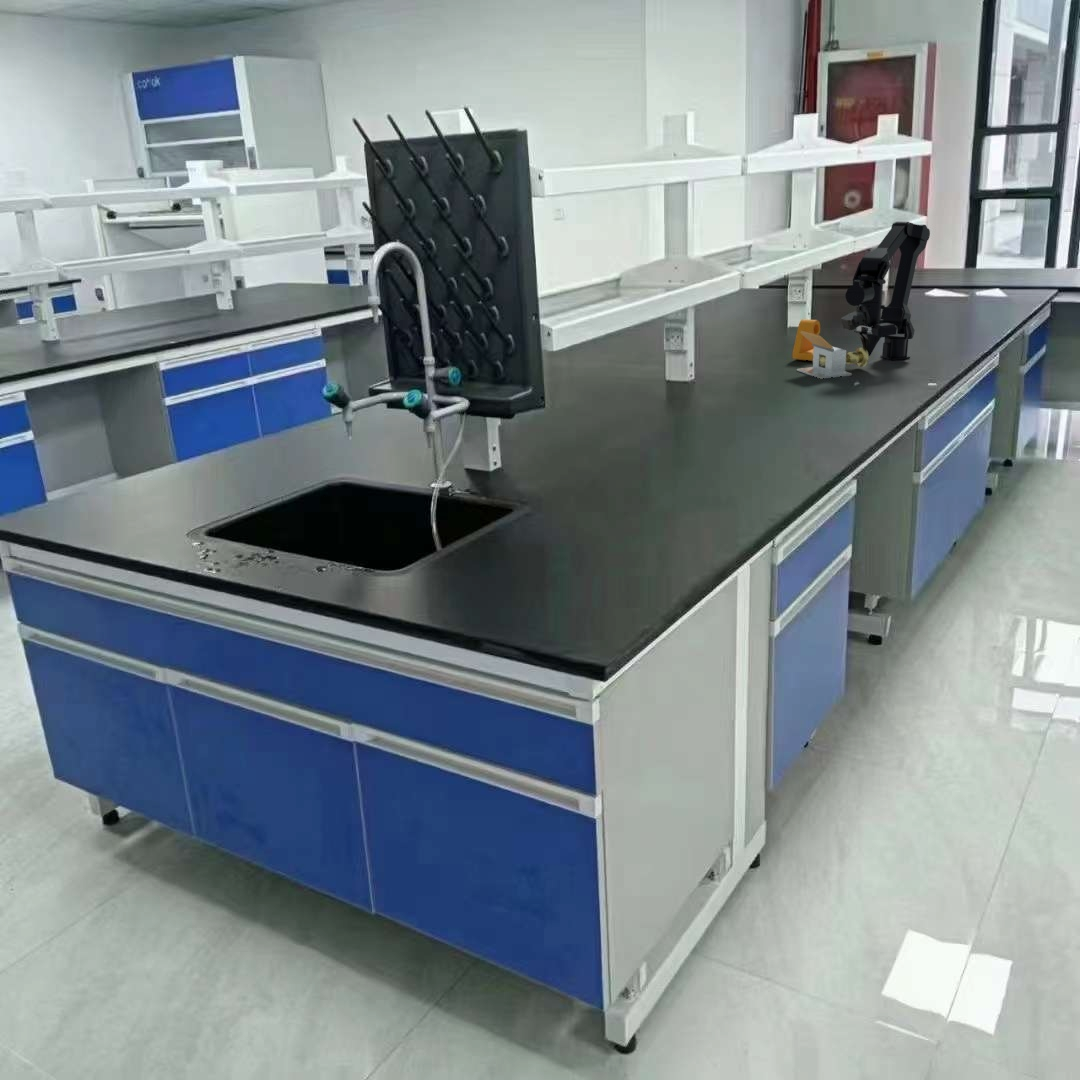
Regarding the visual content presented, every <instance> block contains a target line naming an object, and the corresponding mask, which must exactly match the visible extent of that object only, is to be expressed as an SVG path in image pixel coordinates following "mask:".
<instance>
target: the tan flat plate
mask: <svg viewBox="0 0 1080 1080" xmlns="http://www.w3.org/2000/svg"><path fill="white" fill-rule="evenodd" d="M800 333H801V334H802V335H803V336H805V337H806V338H807V339H808V340H809V341H810V342H811V343H813V344H812V346H815V347H818V348H821V349H825V350H828V351H831V352H833V351H834V349H833V347H834V346H833V347H832V345H831V344H830V343H829V342H828V341H826V340H825V339H824V337H822V336H821V335H820V334H819V335H816V334H812V333H808V332H805V331H801V332H800Z"/></svg>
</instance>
